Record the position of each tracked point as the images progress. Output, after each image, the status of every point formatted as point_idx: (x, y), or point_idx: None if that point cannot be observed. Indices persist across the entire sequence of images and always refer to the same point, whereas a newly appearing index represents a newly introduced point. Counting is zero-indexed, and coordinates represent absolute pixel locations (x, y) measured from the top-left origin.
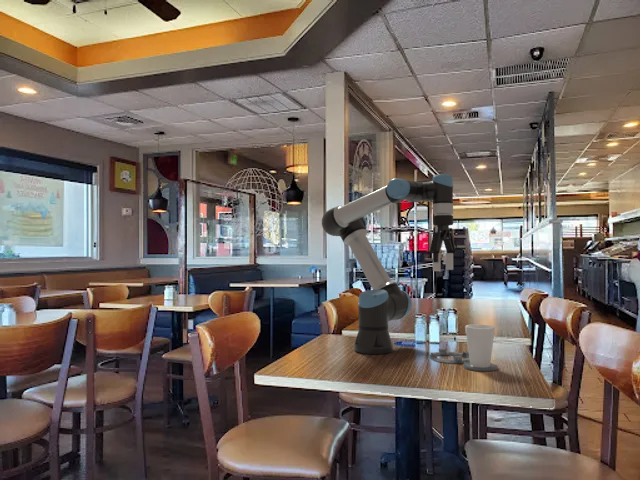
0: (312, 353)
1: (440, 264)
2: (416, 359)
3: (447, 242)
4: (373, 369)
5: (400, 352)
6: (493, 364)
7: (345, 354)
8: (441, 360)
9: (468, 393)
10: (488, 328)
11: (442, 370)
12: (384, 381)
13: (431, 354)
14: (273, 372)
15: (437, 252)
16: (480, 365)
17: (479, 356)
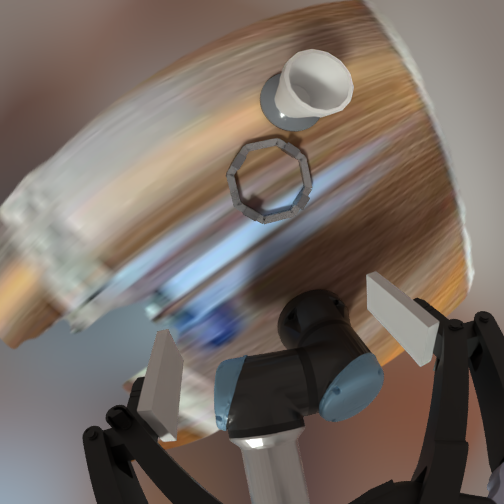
0: (381, 349)
1: (387, 290)
2: (321, 223)
3: (218, 501)
4: (411, 227)
5: (292, 282)
6: (268, 85)
7: (363, 322)
8: (309, 176)
9: (414, 72)
10: (329, 56)
11: (356, 143)
12: (440, 177)
13: (304, 205)
14: (460, 292)
15: (458, 324)
16: (308, 93)
17: (317, 89)
